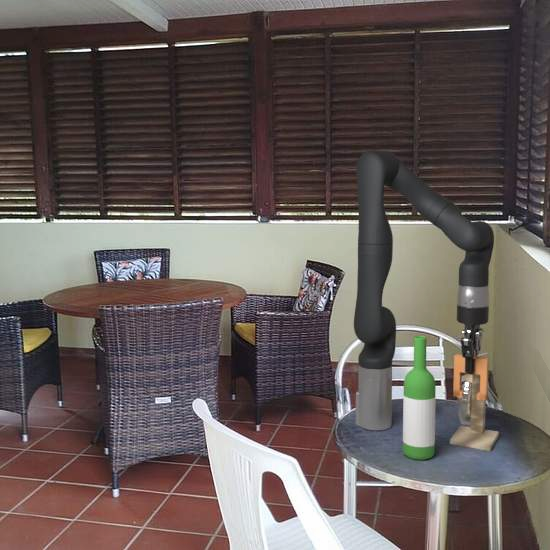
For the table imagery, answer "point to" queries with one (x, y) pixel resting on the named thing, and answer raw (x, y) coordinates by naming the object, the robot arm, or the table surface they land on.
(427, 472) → the table surface
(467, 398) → the cup with straw
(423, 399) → the wine bottle
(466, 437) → the hook stand
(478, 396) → the c link
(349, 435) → the table surface
